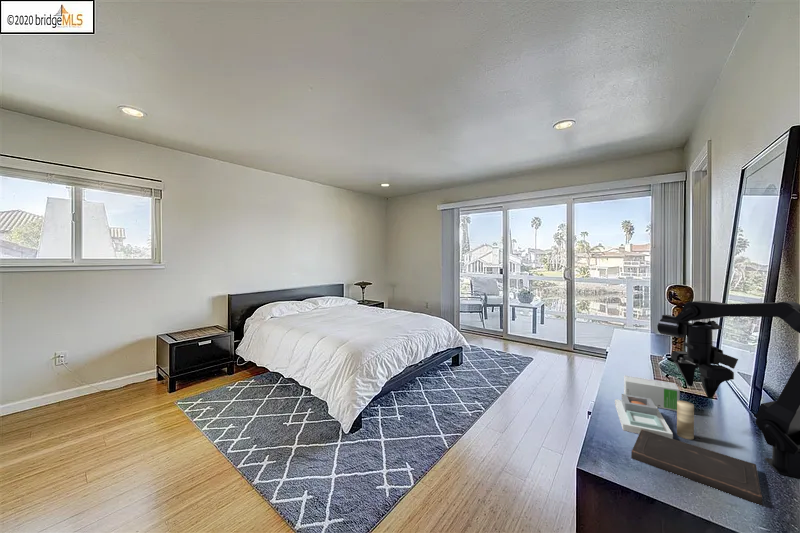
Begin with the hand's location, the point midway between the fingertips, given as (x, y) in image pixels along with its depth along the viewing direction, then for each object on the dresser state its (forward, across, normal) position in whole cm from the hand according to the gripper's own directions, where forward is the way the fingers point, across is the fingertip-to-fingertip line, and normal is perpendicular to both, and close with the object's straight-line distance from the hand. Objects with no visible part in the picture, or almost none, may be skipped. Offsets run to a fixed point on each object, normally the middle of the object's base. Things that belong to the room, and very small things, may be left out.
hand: (699, 391), depth 96 cm
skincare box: (+8, +16, -3) cm, 18 cm away
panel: (+12, +3, +14) cm, 19 cm away
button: (+9, +7, +13) cm, 18 cm away
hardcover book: (+13, -19, +12) cm, 26 cm away
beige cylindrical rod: (+12, -4, +6) cm, 14 cm away
